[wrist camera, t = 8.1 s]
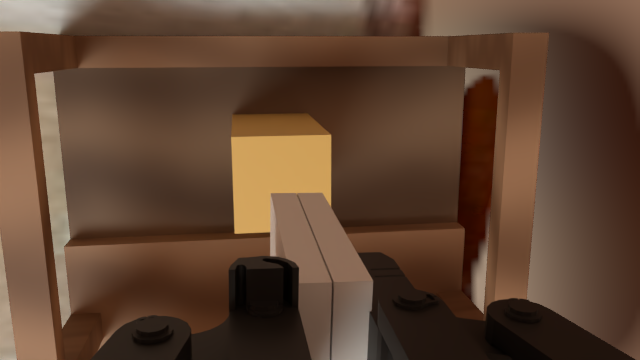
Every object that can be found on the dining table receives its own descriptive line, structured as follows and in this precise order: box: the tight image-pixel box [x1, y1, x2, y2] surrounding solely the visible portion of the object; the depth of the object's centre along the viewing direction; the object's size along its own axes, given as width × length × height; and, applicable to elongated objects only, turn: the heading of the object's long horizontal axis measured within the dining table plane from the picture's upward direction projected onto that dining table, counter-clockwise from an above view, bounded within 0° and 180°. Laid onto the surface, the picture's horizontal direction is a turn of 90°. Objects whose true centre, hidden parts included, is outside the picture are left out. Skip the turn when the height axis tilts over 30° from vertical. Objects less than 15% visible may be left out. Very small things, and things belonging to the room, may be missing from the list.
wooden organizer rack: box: [0, 32, 549, 360], centre depth 30 cm, size 30×22×10 cm
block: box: [231, 113, 331, 234], centre depth 27 cm, size 4×4×8 cm
